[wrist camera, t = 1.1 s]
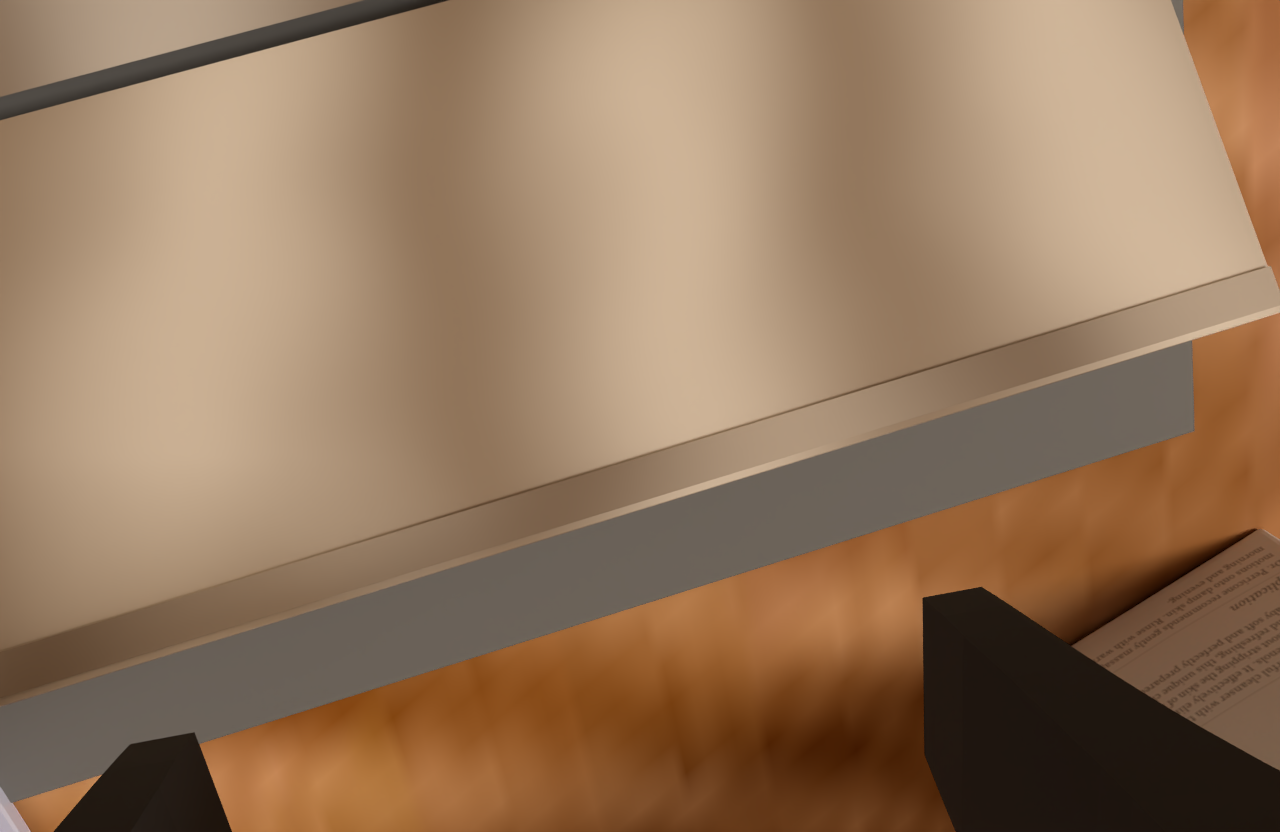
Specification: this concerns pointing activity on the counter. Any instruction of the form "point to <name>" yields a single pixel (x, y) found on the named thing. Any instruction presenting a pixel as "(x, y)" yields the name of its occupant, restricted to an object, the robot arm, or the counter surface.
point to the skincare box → (1209, 646)
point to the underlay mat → (574, 561)
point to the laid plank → (121, 32)
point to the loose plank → (557, 282)
